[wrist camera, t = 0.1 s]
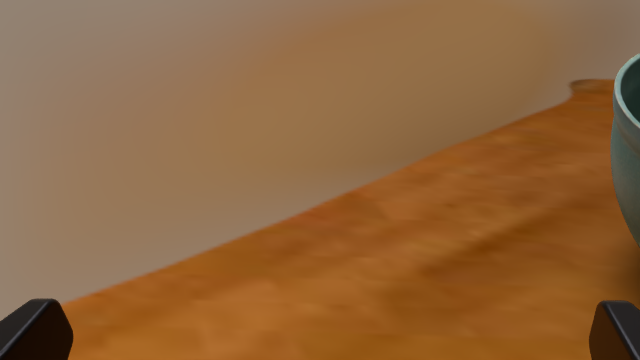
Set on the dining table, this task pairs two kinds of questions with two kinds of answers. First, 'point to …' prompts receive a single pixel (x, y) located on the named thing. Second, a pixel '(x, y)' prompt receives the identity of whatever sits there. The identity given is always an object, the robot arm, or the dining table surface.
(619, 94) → the flower pot
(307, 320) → the dining table surface
